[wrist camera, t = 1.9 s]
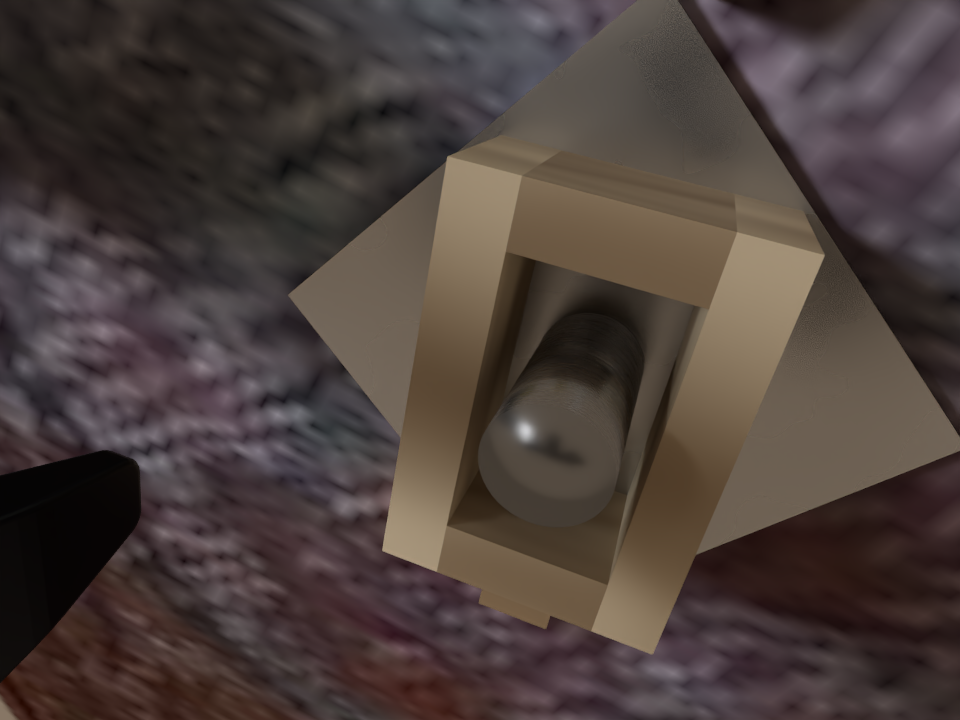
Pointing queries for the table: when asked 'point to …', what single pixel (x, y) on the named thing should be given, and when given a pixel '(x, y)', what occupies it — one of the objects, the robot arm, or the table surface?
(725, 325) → the wooden rectangular frame
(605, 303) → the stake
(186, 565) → the table surface
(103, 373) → the table surface
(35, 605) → the robot arm
